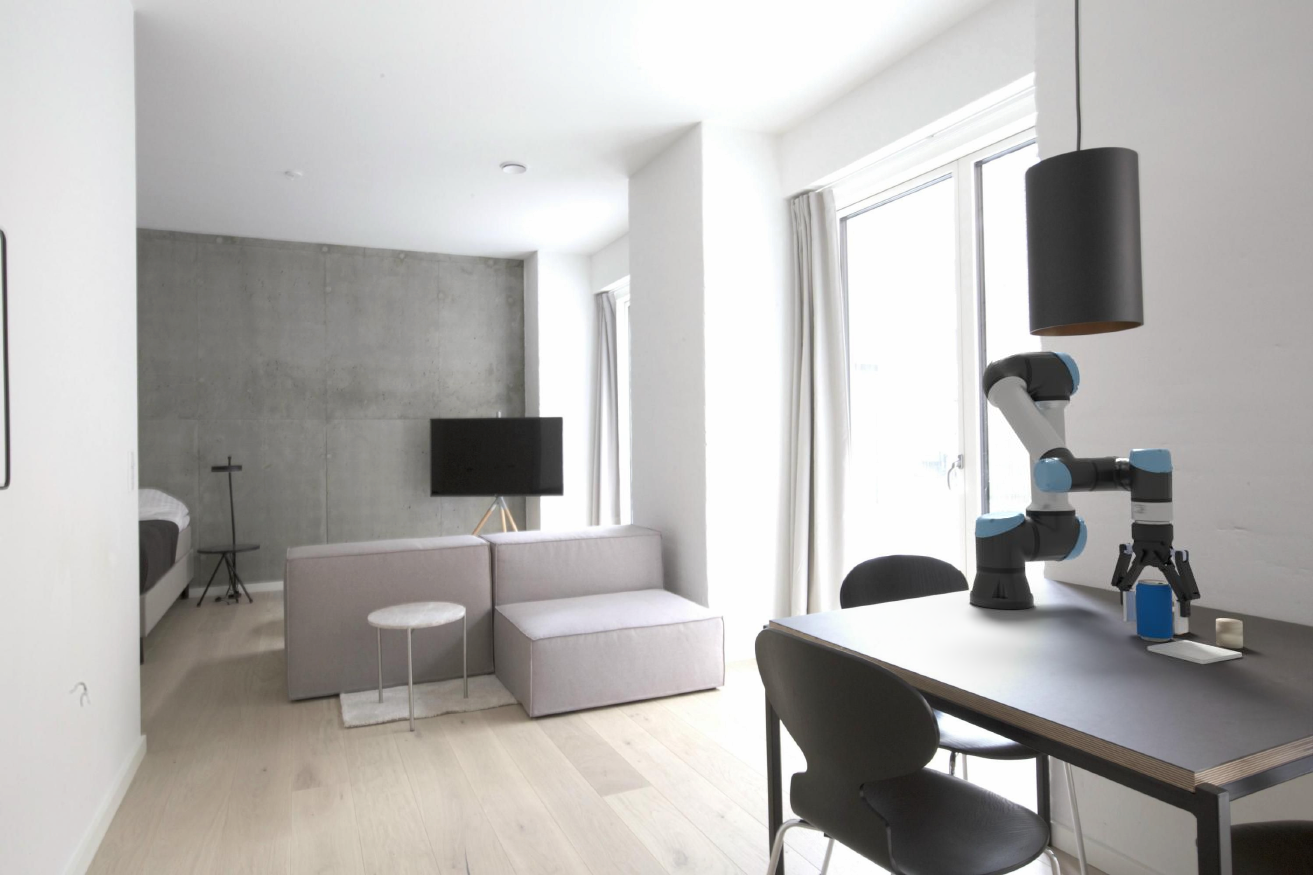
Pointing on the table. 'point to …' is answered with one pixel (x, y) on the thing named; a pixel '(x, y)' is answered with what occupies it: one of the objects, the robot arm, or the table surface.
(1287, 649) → the table surface
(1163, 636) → the beverage can
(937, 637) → the table surface
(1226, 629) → the birch cylinder
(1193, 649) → the pad
